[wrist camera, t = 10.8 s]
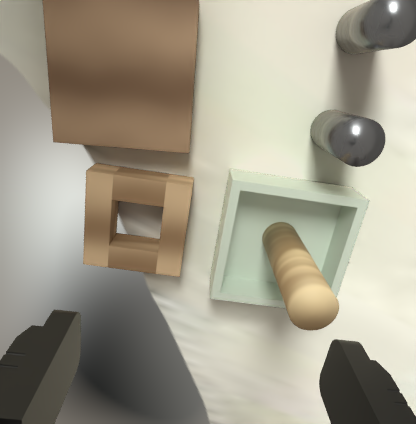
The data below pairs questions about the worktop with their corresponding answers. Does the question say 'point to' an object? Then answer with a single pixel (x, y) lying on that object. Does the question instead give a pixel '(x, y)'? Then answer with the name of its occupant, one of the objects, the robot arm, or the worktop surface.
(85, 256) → the holder block
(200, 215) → the worktop surface
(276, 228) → the dowel
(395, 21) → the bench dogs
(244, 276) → the tray
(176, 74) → the plate
